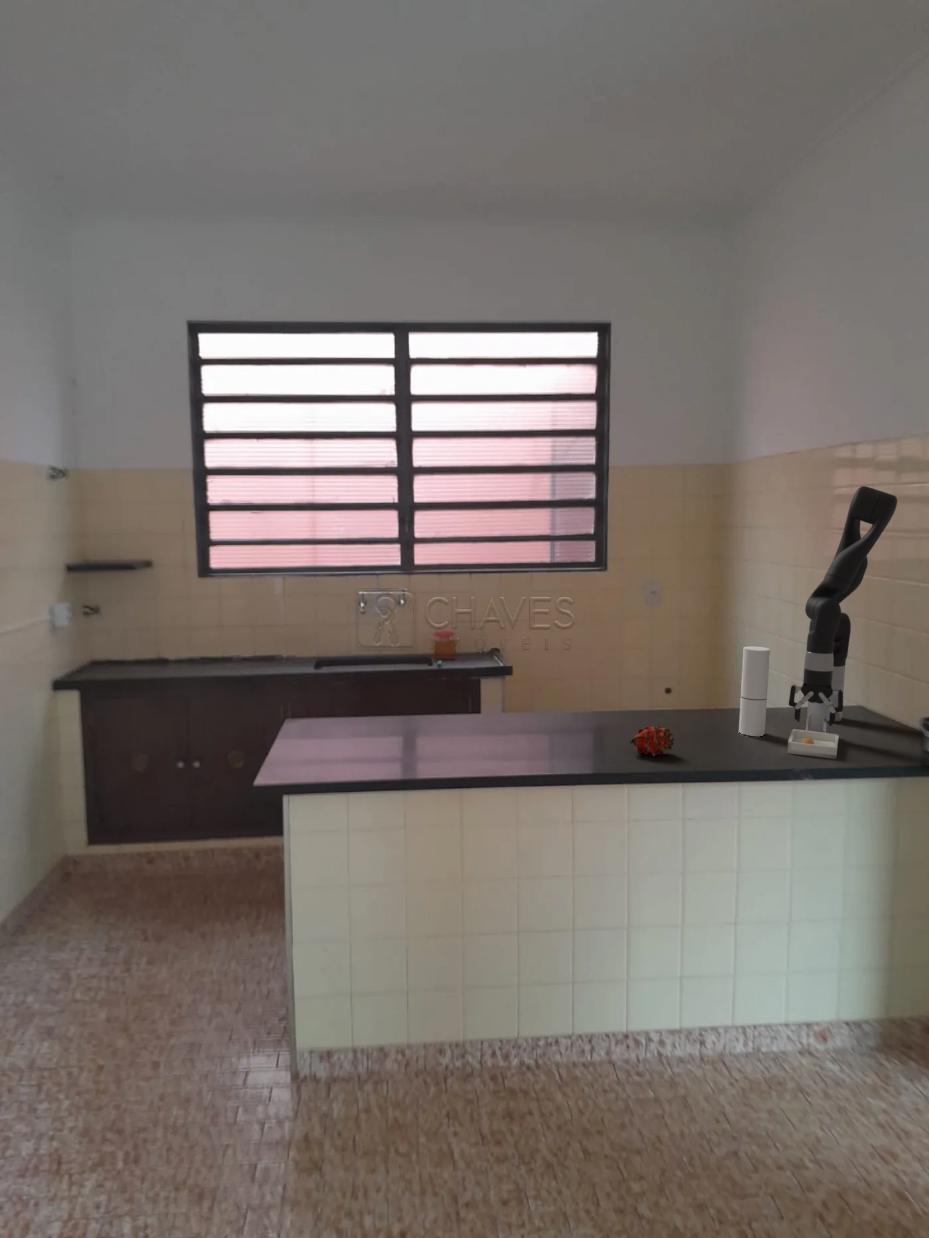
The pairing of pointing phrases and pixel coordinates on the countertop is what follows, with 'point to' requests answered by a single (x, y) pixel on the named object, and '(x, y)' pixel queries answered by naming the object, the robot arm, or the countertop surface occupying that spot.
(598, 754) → the countertop surface
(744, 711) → the cylindrical container
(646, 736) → the dragon fruit
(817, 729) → the scoop
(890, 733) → the countertop surface
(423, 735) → the countertop surface
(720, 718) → the countertop surface
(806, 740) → the ball
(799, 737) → the tray
